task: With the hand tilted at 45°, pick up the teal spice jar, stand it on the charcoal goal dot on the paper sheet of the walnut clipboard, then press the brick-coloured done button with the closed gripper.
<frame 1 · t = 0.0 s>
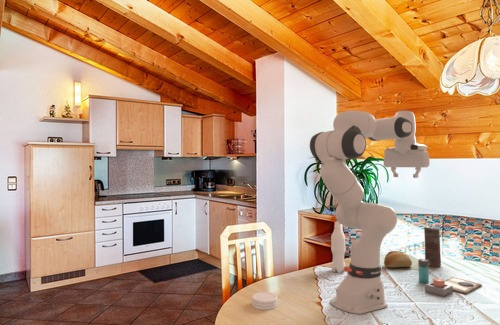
hand: (405, 177, 157), 48 cm above the table, tool pointing down, fingers open, 8 cm apart
coaster: (264, 305, 135), on the table
button housing: (438, 292, 146), on the table
clipboard: (458, 286, 153), on the table
bread roll: (397, 267, 181), on the table
done button: (438, 283, 146), point 3 cm above the table, slide at 0.0 cm
water bottle: (338, 271, 175), on the table
candle: (432, 265, 183), on the table
teal spice jar: (423, 282, 158), on the table
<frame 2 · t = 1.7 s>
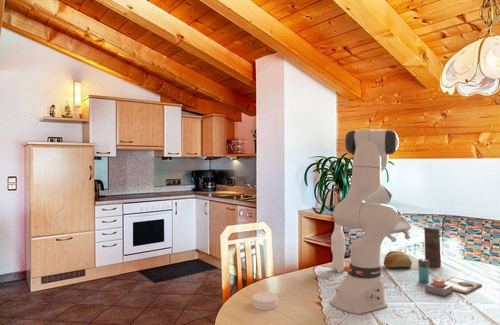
hand: (401, 239, 169), 17 cm above the table, tool tilted 45°, fingers open, 8 cm apart
nothing on the table moved.
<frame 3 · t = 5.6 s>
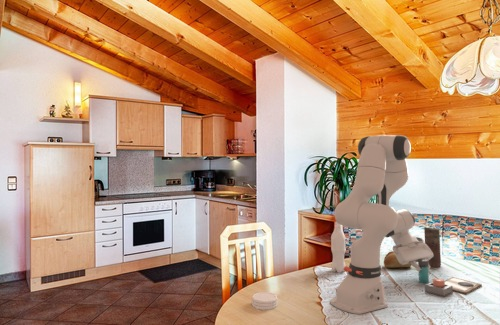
hand: (424, 269, 158), 6 cm above the table, tool tilted 45°, fingers closed on teal spice jar, 4 cm apart
teal spice jar: (423, 282, 158), on the table, touching gripper
everything else where it was.
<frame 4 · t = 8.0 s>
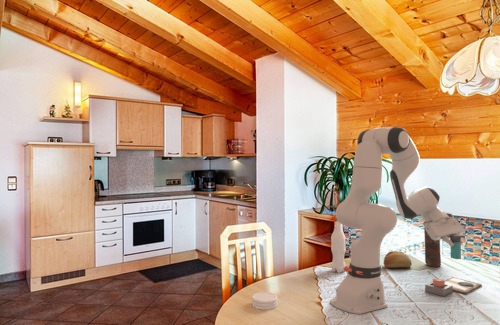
hand: (457, 244, 153), 18 cm above the table, tool tilted 45°, fingers closed on teal spice jar, 4 cm apart
teal spice jar: (455, 257, 154), point 12 cm above the table, touching gripper
everything else where it was.
when the fingers open (8 cm above the table, at t = 10.5 s): teal spice jar stays where it is, resting on clipboard.
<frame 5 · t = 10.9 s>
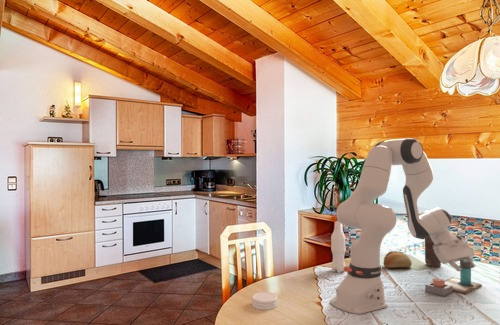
hand: (467, 269, 152), 8 cm above the table, tool tilted 45°, fingers open, 8 cm apart
teal spice jar: (465, 284, 152), point 1 cm above the table, touching clipboard
everything else where it was.
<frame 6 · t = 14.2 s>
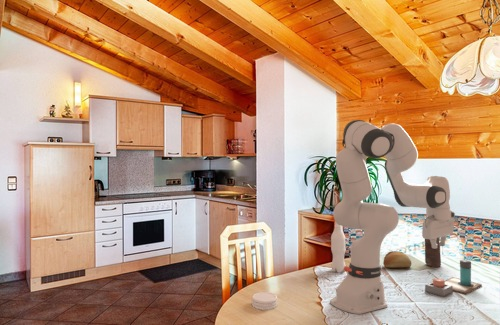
hand: (438, 247, 146), 19 cm above the table, tool pointing down, fingers open, 5 cm apart
nothing on the table moved.
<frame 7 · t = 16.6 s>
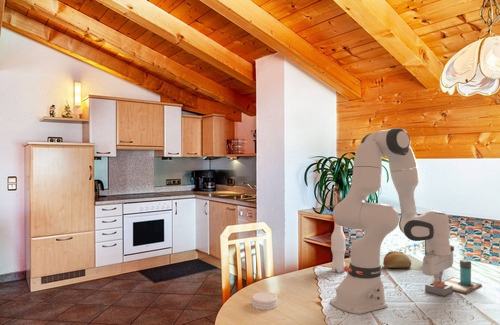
hand: (438, 281, 147), 4 cm above the table, tool pointing down, fingers closed
done button: (438, 285, 146), point 3 cm above the table, slide at 0.7 cm, touching gripper
everything else where it was.
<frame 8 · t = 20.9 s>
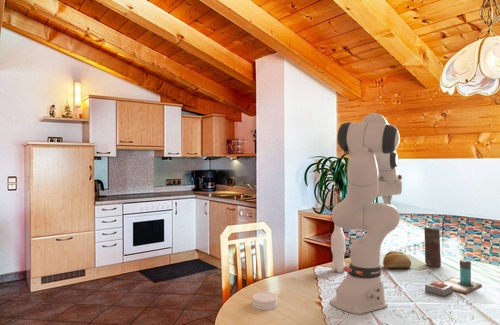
hand: (387, 204, 169), 34 cm above the table, tool pointing down, fingers closed
done button: (438, 286, 146), point 2 cm above the table, slide at 1.1 cm
everything else where it was.
at the end: teal spice jar 0.1 cm from the target spot on the clipboard, point 1.0 cm above the clipboard's base; teal spice jar tilted 0°; done button slide at 1.1 cm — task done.
